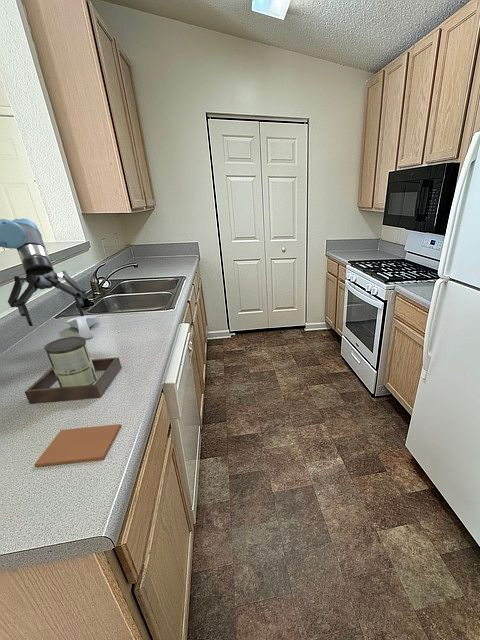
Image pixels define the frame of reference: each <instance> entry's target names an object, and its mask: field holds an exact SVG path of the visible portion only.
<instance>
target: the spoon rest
mask: <svg viewBox="0 0 480 640" xmlns="http://www.w3.org/2000/svg"><path fill="white" fill-rule="evenodd" d="M97 319H98V316H97V315H94V314H91V315H90V314H89V315H84V316H82V317H81V316H77V317H73V318H69V319H68V320H67V321H66V323H67V324H68V325H69V326H70V327H72V328H75V329H77V330H78V337H83V338H85V340H86V339H91V338H93V337H94V335H93V333H92V331H91V329H90V328H92V327H93V326H94V325H95V323H96V322H97Z"/></svg>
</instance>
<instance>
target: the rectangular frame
mask: <svg viewBox="0 0 480 640" xmlns="http://www.w3.org/2000/svg"><path fill="white" fill-rule="evenodd" d="M91 360H92V363H93V366H94V369H95V372H101V371H104V372H103V373H102V374H101V375H100V377H98V381H97V382H96V383H95V384H94V385H82V386H70V387H60V386H59V387H52V386H53V385H54V384H55V383H56V382H58V380H57V377H56V375H55V372H54V370H53V367H52V366H51V367H50V368H49V369H48V370H47V371H46V372H45V373H44V374H43V375H41V376H40V377H39V378H38V379H37V380H36V381H35V382H34V383H32V385H30V386H29V387H28V388H27V389H26V390H25V391H24V395H25V396H26V398H27V401H28V403H29V404H30V405H32V404H42V403H43V404H44V403H45V404H46V403H54V402H55V403H56V402H65V401H76V400H88V399H100V398H102V396H103V395H104V394H105V393H106V391H107V389H108V388H109V386H110V385H111V383H113V381H114V379H115V378H116V377H117V376H118V374H119V373H120V371H121V370H122V367H123V366H122V364H121V360H120V357H119V356H118V357H105V358H94V359H93V358H91Z"/></svg>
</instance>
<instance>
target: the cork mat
mask: <svg viewBox="0 0 480 640" xmlns="http://www.w3.org/2000/svg"><path fill="white" fill-rule="evenodd" d="M121 428H122V424H121V423H117V424H107V425H96V426H87V427H78V428H77V427H76V428H67V429H66V428H65V429H60V430H59V432H58V433H57V435H56V436H55V437H54V438H53V440H52V441H51V442H50V443H49V445H48V446H47V447H46V449H45V450H44V451H43V453H42V454H41V455H40V456H39V458H38V459H36V461H35V463H34V464H33V465H34V467H35V468H40V467H49V466H59V465H67V464H76V463H85V462H93V461H103V460H104V461H105V458H106V456H107V455H108V452H109V451H110V448H111V447H112V445H113V443H114V441H115V439H116V438H117V435H118V434H119V431H120V429H121Z"/></svg>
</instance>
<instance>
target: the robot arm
mask: <svg viewBox="0 0 480 640" xmlns="http://www.w3.org/2000/svg"><path fill="white" fill-rule="evenodd" d="M0 248H4V249H10V250H12V249H15V250H16V251H17V253H18V256H19V258H20V261H21V264H22V268H23V270H24V273H25V277H19V276H18V275H15V276H14V277H13V280H14V284H13V286H12V289H11V291H10V293H9V294H10V295H9V297H8V300H7V304H8V306H9V307H10V308H13V309H14V308H17V309H18V312H19V315H20V316H21V317H25V318H26V322H27V324H28V326H29V327H33V326H34V324H33V322H32V319H31V316H30V313H29V310H28V308H27V307H28V306H27V305H26V304H27V303H28V301H29V300H30V299H31V297H32V296H33V295H34V293H36V292H37V291H38V290H42V291H43V290H45V289H53V288H55V289H57V290H60V291H62V292H64V293H66V294H68V295H70V296H72V297H73V299H74V301H75V304H76V307H77V309H78V312H79V314H80V317H82V316H85V315H84V311H83V308H82V307H84V306H85V303H84V300H83V297H86V296H87V291H86V289H85V288H84V287H83V286H81V285H80V284H79V283H78V282H77V281H76V280H74V279H73V278H72V277H71V276H70V275H69V274H68V273H67V271H66V270H61V272H58V273H57V272H56V271H55V269H54V266H53V264H52V262H51V259H50V256H49V253H48V251H47V248H46V245H45V242H44V239H43V237H42V233H41V231H40V229H39V228H38V225H37V224H36V223H35V222H33V221H32V220H30V219H27V218H23V217H22V218H14V219H13V220H10V219H6V218H0ZM59 279H61V280H63V281H65V282H66V283H67V284H68V285H67V284H65V283H63V282H61V281H60V280H59ZM25 283H27V284H28V285H27V287H26V288H25V289H24V291H23V292H22V289H23V286H24V285H25ZM70 286H71V287H70ZM21 292H22V293H21Z"/></svg>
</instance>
